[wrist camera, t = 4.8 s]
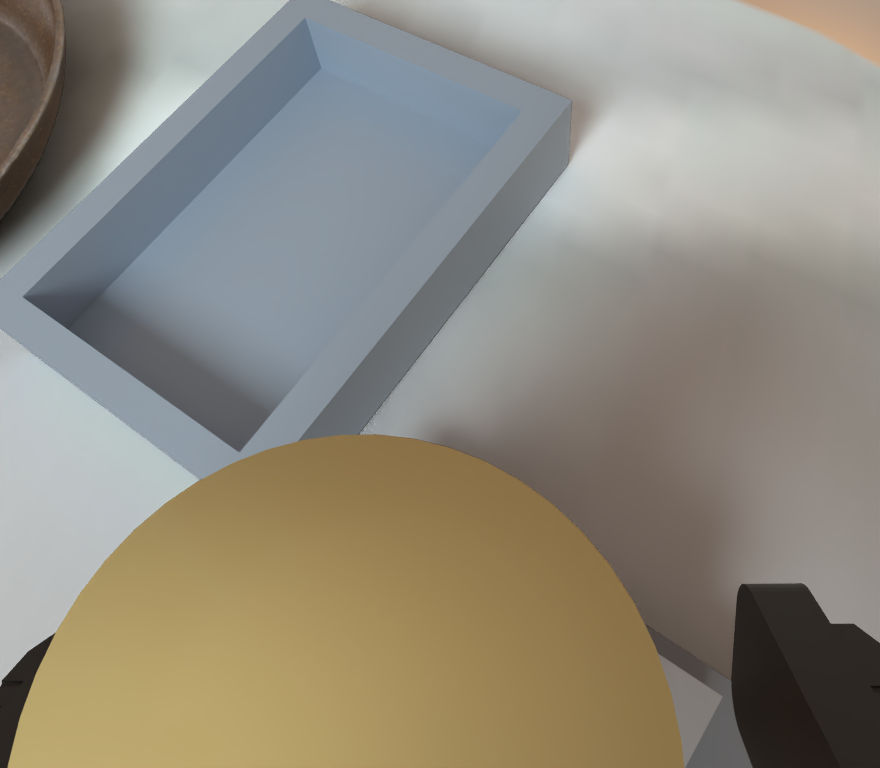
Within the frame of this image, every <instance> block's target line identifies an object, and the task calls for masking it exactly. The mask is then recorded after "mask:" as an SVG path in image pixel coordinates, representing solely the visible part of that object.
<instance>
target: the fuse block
mask: <svg viewBox="0 0 880 768" xmlns="http://www.w3.org/2000/svg"><path fill="white" fill-rule="evenodd" d="M645 626H646V628H647V630H648V632H649V634H650V636H651V638H652V640H653V642H654V645H655V647H656V650H657V653H658V656H659V659H660V662H661V665H662V667H663V670H664V673H665V676H666V679H667V682H668V685H669V688H670V691H671V695H672V699H673V704H674V708H675V713H676V718H677V722H678V727H679V731H680V736H681V741H682V749H683V760H684V768H753V767H752V764H751V762H750V759H749V756H748V754H747V751H746V748H745V746H744V743H743V740H742V738H741V735H740V732H739V729H738V726H737V722H736V718H735V713H734V707H733V700H732V689H731V680H729V679H728V678H726V677H725V676H723V675H722V674H720V673H719V672H717V671H716V670H714V669H712V668H711V667H709V666H708V665H706V664H705V663H703V662H702V661H700V660H699V659H697V658H696V657H694V656H693V655H691V654H690V653H688V652H687V651H685V650H684V649H682V648H681V647H679V646H678V645H676V644H674V643H673V642H671V641H670V640H668V639H667V638H665V637H664V636H662V635H661V634H659V633H658V632H656V631H655V630H653V629H652V628H650V627H649V626H647V625H646V624H645Z"/></svg>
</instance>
